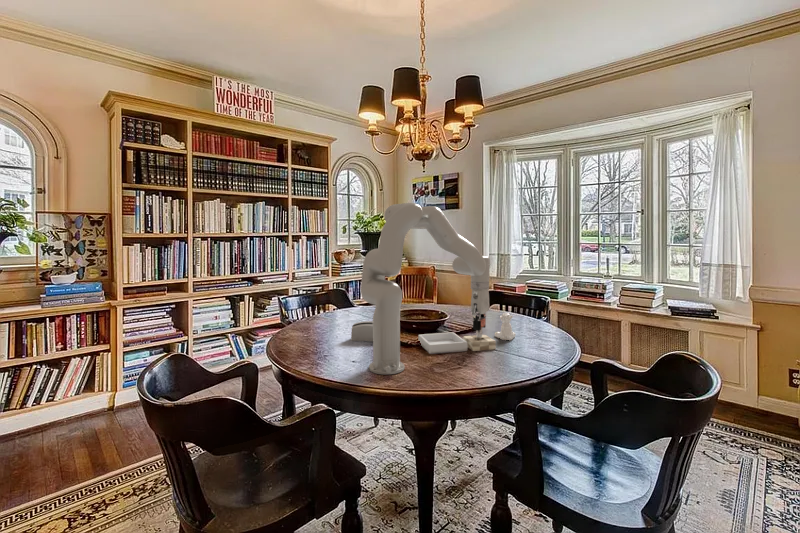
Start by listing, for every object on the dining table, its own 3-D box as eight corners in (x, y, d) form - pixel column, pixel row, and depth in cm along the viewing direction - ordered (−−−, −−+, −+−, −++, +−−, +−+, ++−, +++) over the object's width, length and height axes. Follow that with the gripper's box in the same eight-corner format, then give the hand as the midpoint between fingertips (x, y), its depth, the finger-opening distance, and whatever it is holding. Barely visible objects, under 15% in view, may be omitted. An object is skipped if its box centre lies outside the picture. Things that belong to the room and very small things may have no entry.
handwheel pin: (487, 347, 165) (487, 318, 164) (476, 348, 164) (476, 319, 163) (481, 344, 170) (482, 316, 169) (471, 345, 169) (471, 316, 168)
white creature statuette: (515, 336, 182) (515, 310, 181) (519, 341, 174) (519, 314, 173) (494, 335, 183) (494, 310, 182) (496, 341, 175) (497, 314, 174)
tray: (467, 350, 161) (467, 342, 161) (429, 353, 158) (429, 345, 157) (452, 340, 177) (453, 332, 177) (418, 342, 173) (418, 334, 173)
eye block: (495, 349, 163) (495, 340, 163) (472, 351, 161) (473, 342, 161) (484, 342, 173) (484, 334, 173) (463, 344, 171) (463, 336, 170)
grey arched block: (389, 338, 180) (388, 319, 176) (388, 344, 176) (387, 325, 172) (352, 337, 182) (350, 319, 177) (350, 343, 177) (348, 325, 173)
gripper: (481, 289, 155) (480, 334, 157) (495, 283, 170) (494, 325, 171) (463, 287, 159) (463, 332, 161) (478, 282, 174) (477, 323, 175)
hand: (479, 328), depth 166 cm, fingers closed on handwheel pin, 5 cm apart
